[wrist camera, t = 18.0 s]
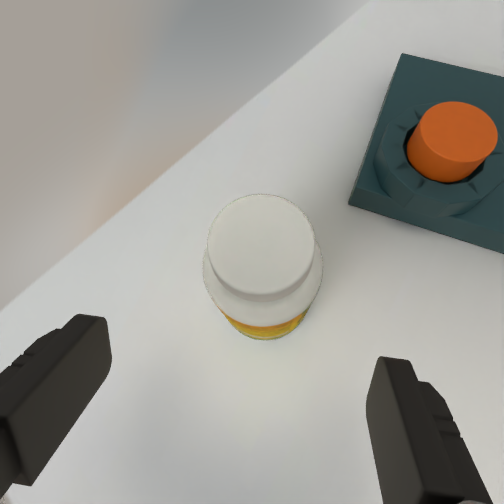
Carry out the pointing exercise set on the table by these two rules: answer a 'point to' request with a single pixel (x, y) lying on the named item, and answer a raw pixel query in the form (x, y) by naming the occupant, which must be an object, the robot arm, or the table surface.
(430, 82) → the teal button base
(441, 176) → the button
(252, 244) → the supplement bottle
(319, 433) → the table surface
